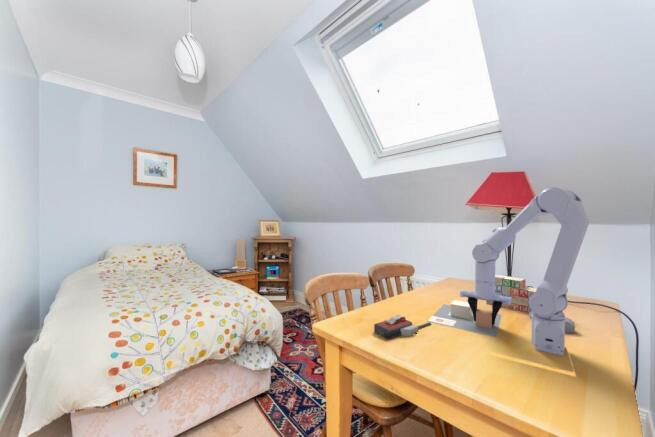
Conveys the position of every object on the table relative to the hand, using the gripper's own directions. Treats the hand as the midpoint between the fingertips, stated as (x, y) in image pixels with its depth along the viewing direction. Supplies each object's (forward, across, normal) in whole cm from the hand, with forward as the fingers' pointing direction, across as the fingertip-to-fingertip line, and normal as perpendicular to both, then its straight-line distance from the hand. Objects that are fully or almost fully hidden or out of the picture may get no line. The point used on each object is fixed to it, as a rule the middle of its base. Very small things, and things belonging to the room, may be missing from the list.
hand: (484, 322), depth 91 cm
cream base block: (+1, +8, -6) cm, 10 cm away
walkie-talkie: (+2, +21, +19) cm, 28 cm away
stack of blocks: (+2, -8, -29) cm, 30 cm away
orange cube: (+1, 0, 0) cm, 1 cm away
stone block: (+2, -17, -16) cm, 23 cm away
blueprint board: (+2, +6, -3) cm, 7 cm away
